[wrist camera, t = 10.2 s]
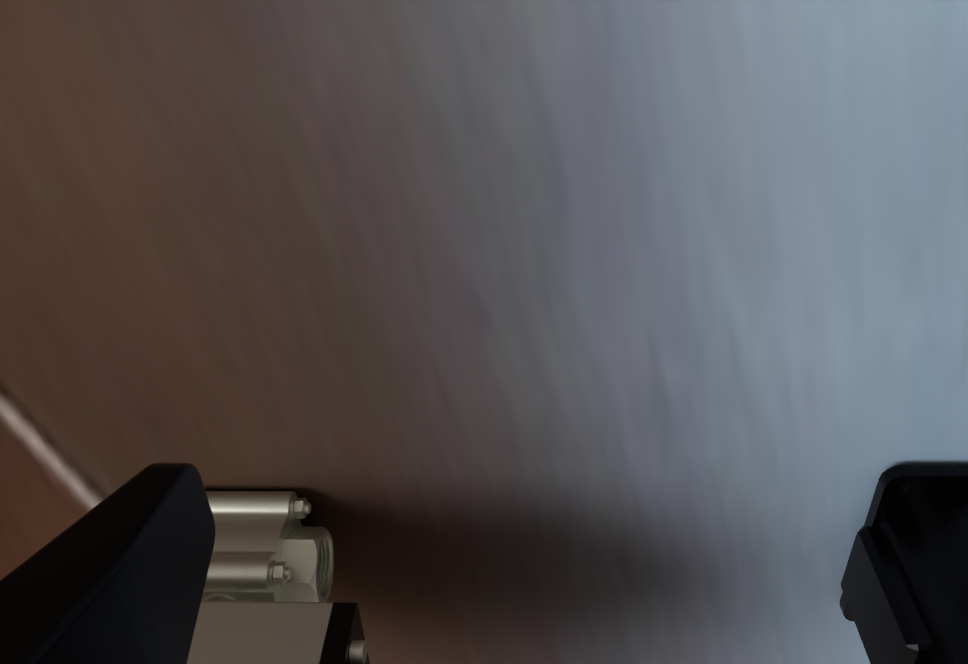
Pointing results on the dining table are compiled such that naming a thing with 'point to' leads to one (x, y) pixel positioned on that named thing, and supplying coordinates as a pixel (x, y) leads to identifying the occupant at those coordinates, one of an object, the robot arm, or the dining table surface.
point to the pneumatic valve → (272, 588)
